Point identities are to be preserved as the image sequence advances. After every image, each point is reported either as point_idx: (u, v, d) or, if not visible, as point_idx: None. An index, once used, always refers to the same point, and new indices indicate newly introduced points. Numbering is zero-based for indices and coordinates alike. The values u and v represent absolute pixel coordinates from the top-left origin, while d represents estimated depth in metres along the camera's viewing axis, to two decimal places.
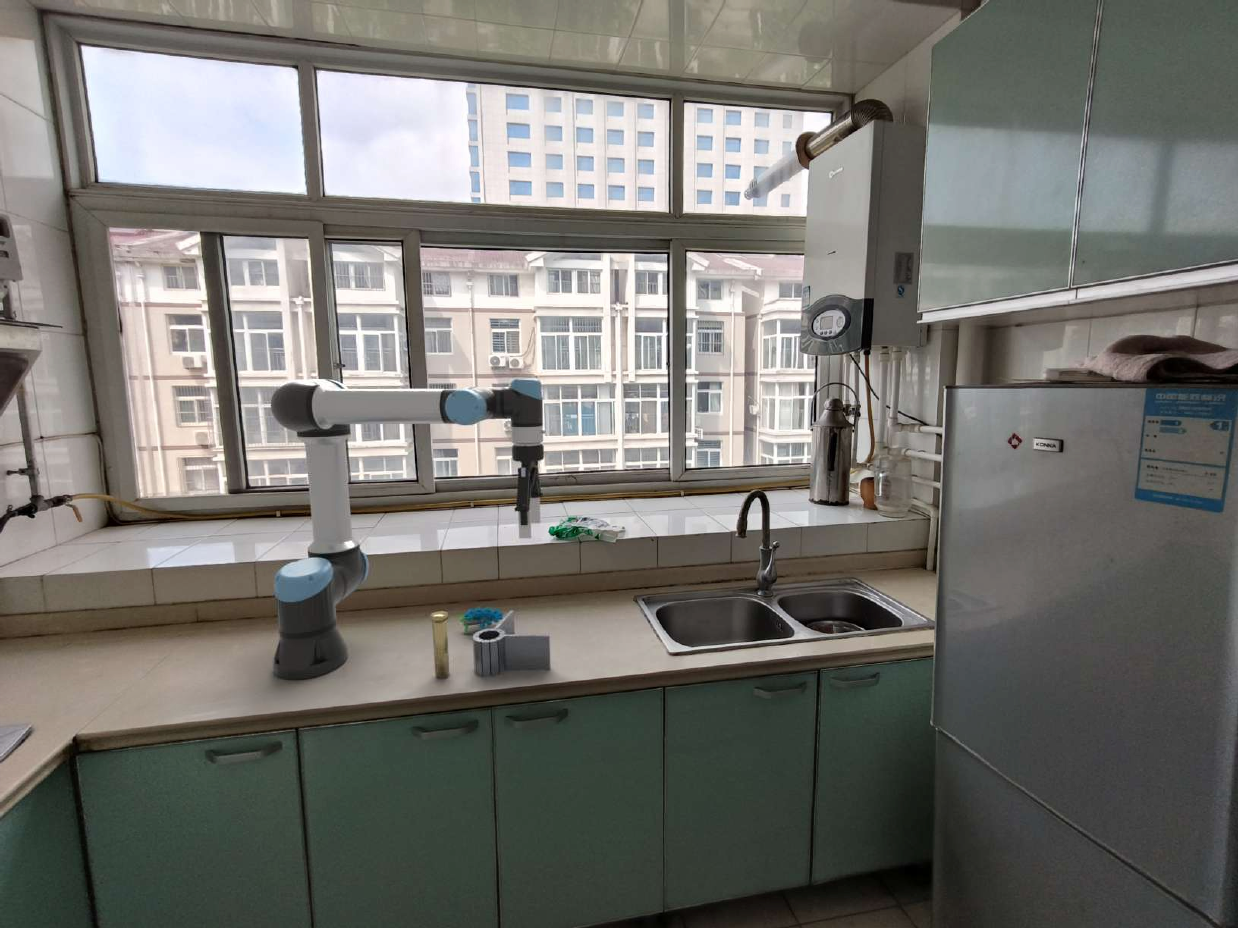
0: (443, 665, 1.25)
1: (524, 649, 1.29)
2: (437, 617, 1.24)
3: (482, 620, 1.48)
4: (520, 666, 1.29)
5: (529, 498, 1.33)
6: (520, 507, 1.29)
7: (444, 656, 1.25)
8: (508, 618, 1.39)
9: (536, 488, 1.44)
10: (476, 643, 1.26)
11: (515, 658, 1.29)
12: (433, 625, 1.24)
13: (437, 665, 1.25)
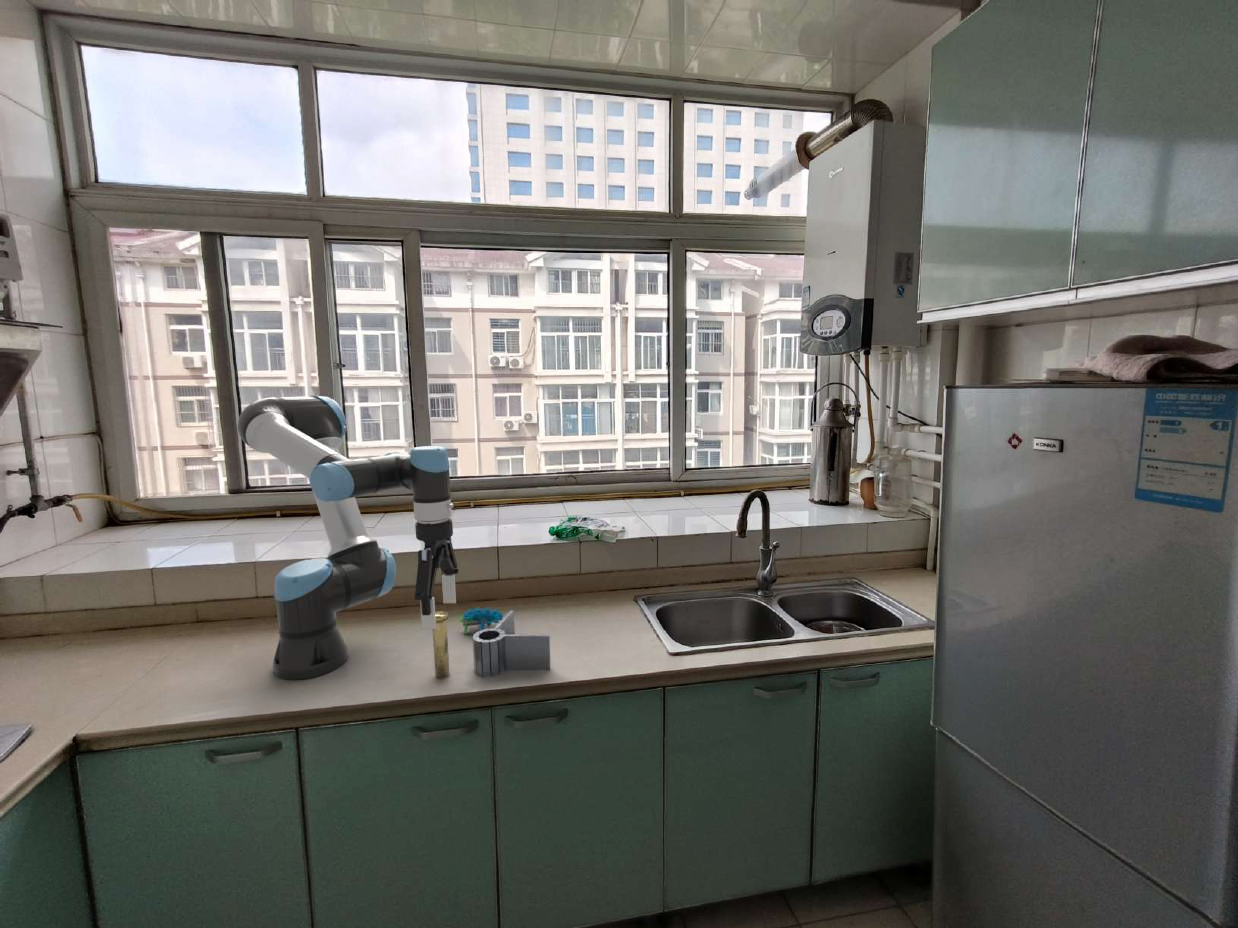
0: (443, 665, 1.25)
1: (524, 649, 1.29)
2: (437, 617, 1.24)
3: (482, 620, 1.48)
4: (520, 666, 1.29)
5: (432, 584, 1.17)
6: (419, 596, 1.14)
7: (444, 656, 1.25)
8: (508, 618, 1.39)
9: (449, 565, 1.28)
10: (476, 643, 1.26)
11: (515, 658, 1.29)
12: None
13: (437, 665, 1.25)
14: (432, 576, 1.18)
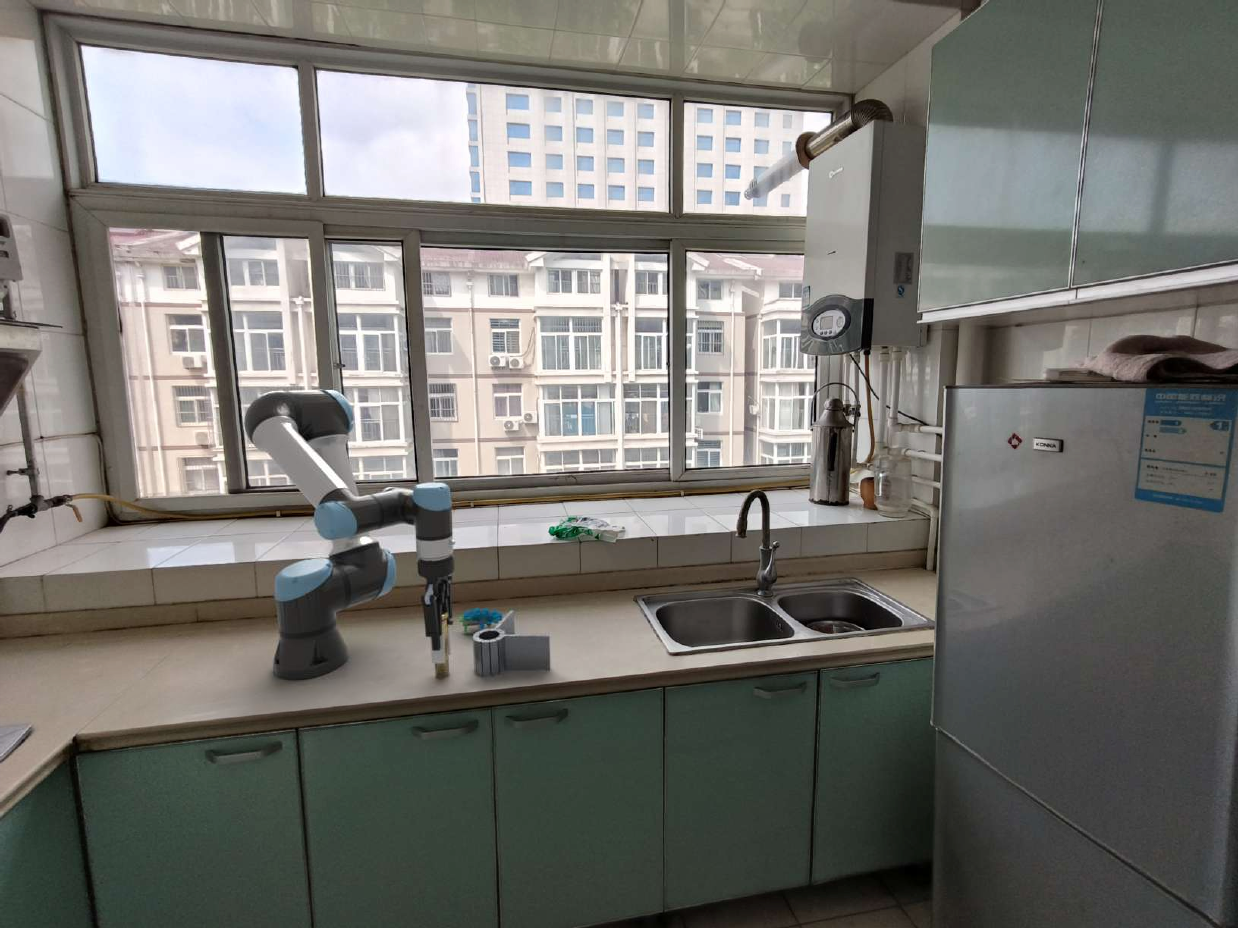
0: (443, 665, 1.25)
1: (524, 649, 1.29)
2: None
3: (481, 621, 1.47)
4: (520, 666, 1.29)
5: (440, 622, 1.22)
6: (430, 635, 1.20)
7: None
8: (508, 618, 1.39)
9: (445, 610, 1.27)
10: (476, 643, 1.26)
11: (515, 658, 1.29)
12: None
13: (437, 665, 1.25)
14: (438, 615, 1.22)
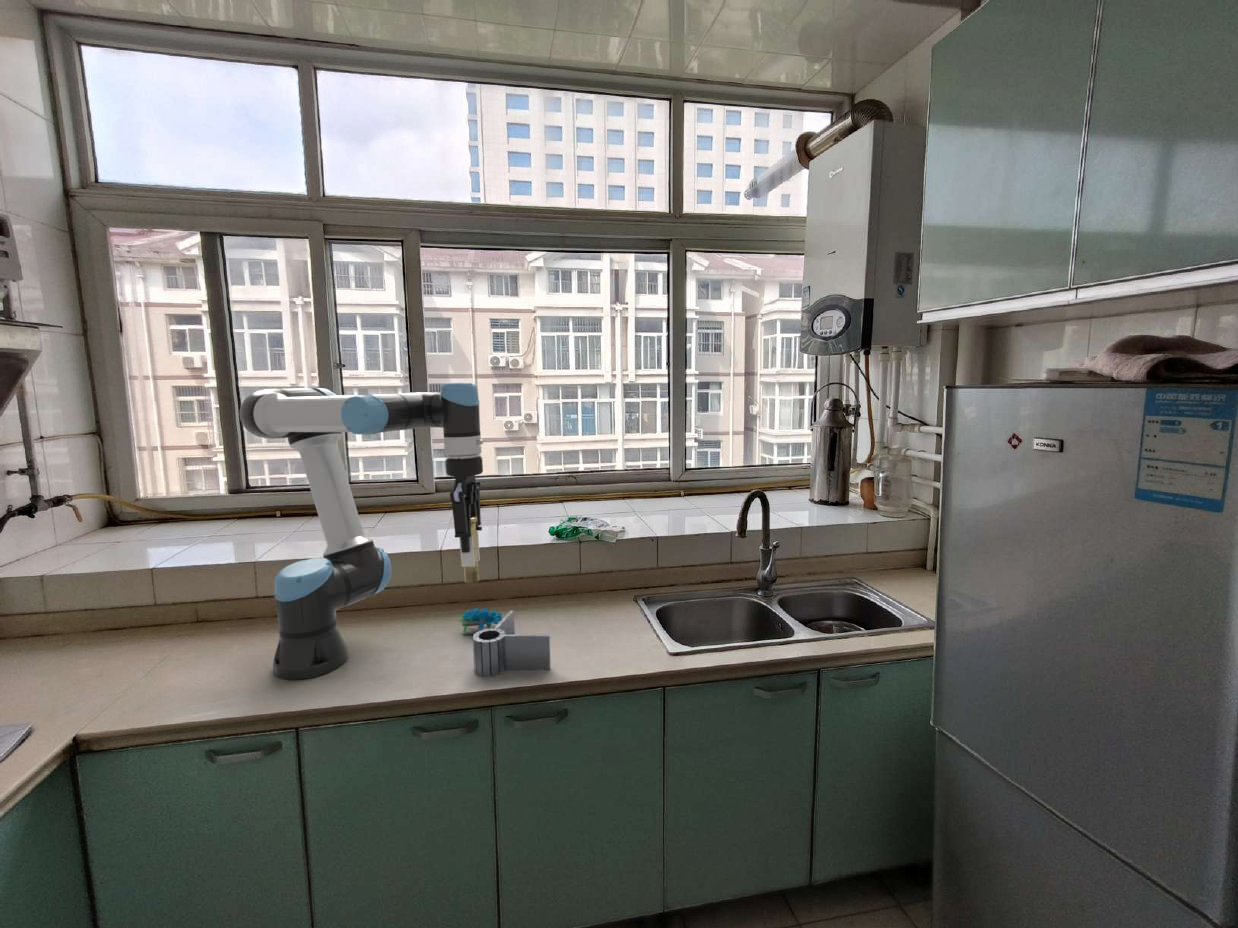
0: (472, 569, 1.23)
1: (524, 649, 1.29)
2: None
3: (480, 621, 1.47)
4: (520, 666, 1.29)
5: (469, 523, 1.20)
6: (459, 535, 1.18)
7: None
8: (508, 618, 1.39)
9: (474, 514, 1.25)
10: (476, 643, 1.26)
11: (515, 658, 1.29)
12: None
13: (467, 569, 1.23)
14: (468, 515, 1.20)
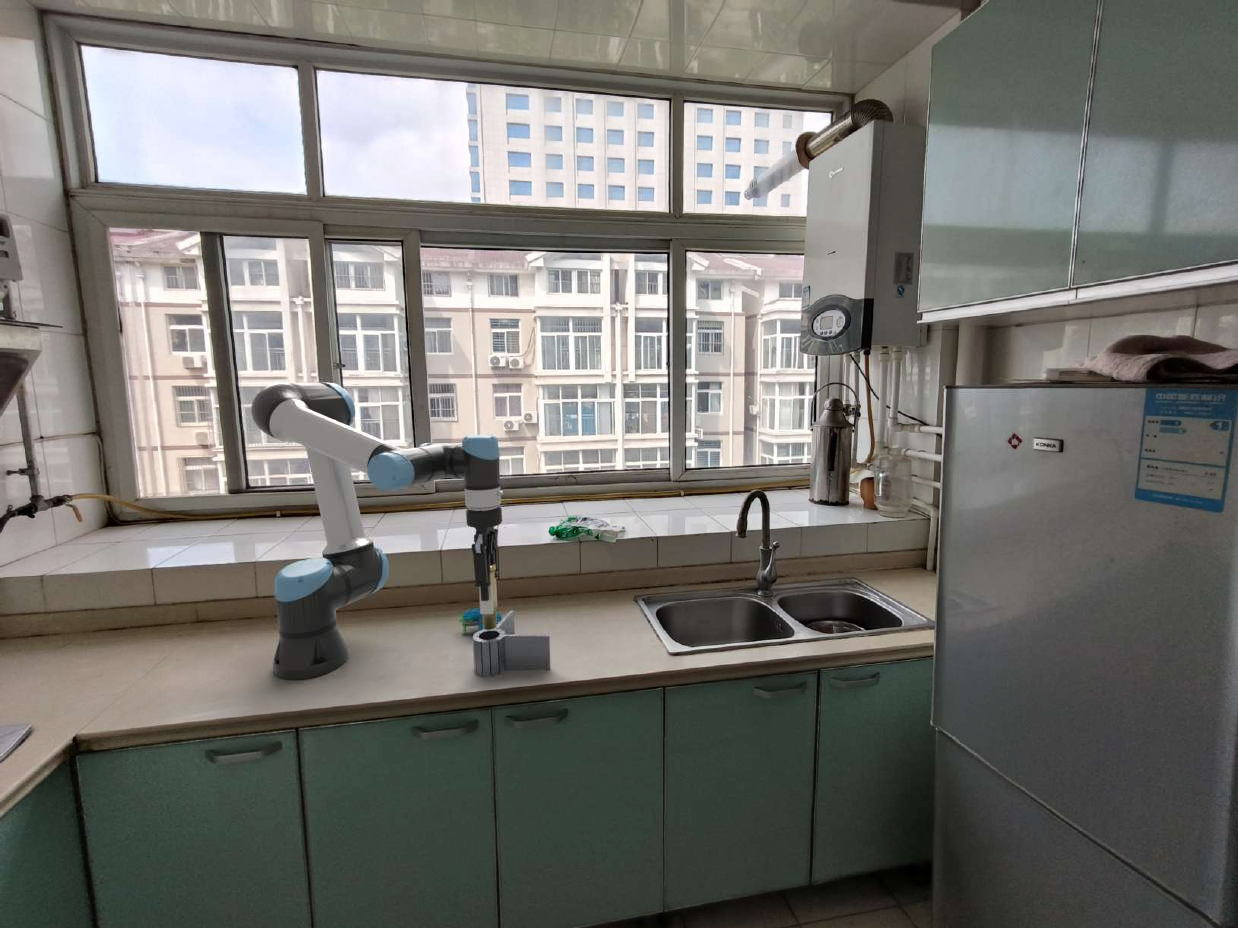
0: (491, 616, 1.26)
1: (524, 649, 1.29)
2: None
3: (480, 621, 1.47)
4: (520, 666, 1.29)
5: (489, 572, 1.23)
6: (480, 585, 1.21)
7: (493, 607, 1.26)
8: (508, 618, 1.39)
9: (492, 562, 1.28)
10: (476, 643, 1.26)
11: (515, 658, 1.29)
12: None
13: (486, 616, 1.26)
14: (487, 565, 1.23)
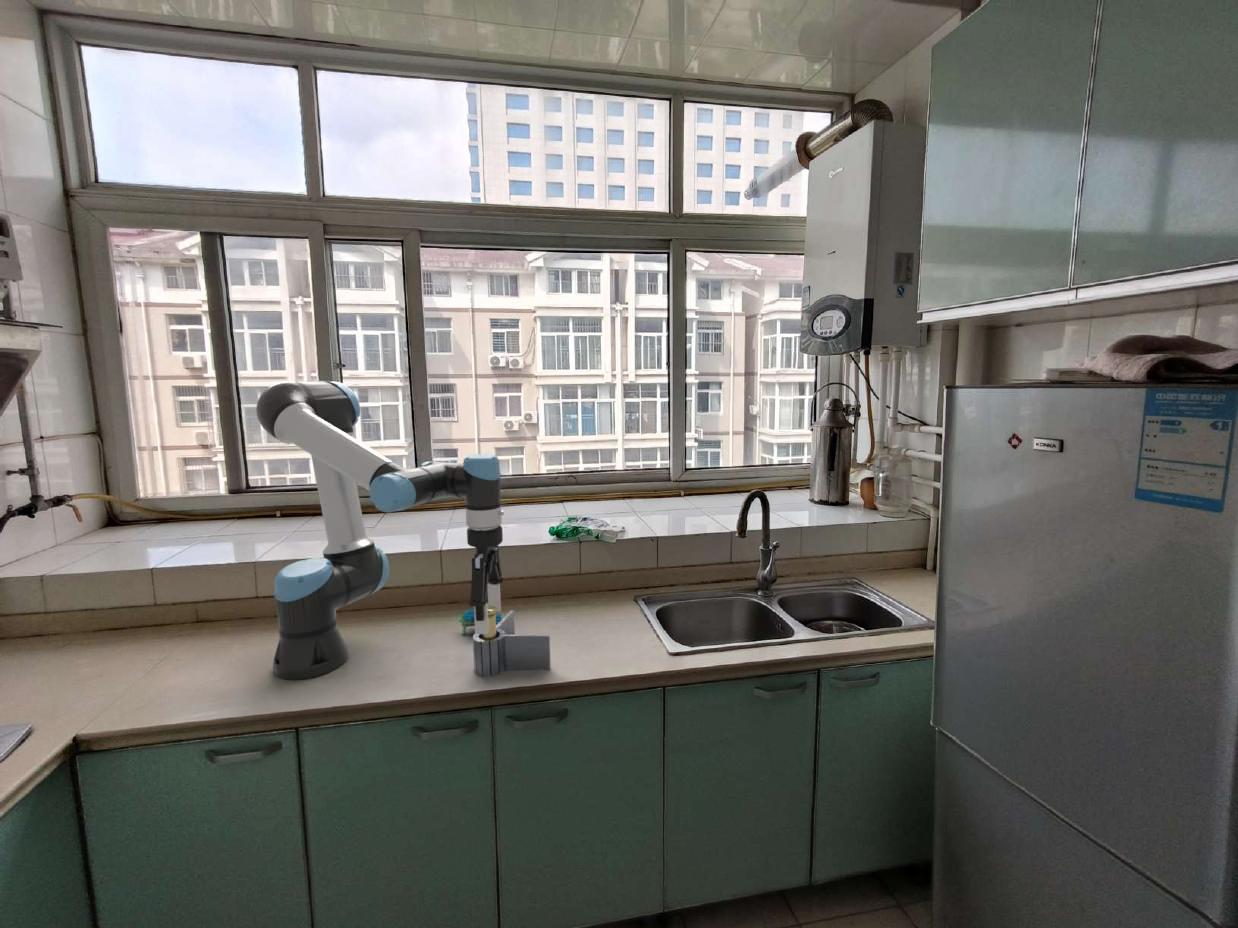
0: None
1: (524, 649, 1.29)
2: None
3: None
4: (520, 666, 1.29)
5: (485, 590, 1.21)
6: (475, 603, 1.18)
7: None
8: (508, 618, 1.39)
9: (495, 573, 1.31)
10: (476, 643, 1.26)
11: (515, 658, 1.29)
12: None
13: None
14: (485, 583, 1.21)
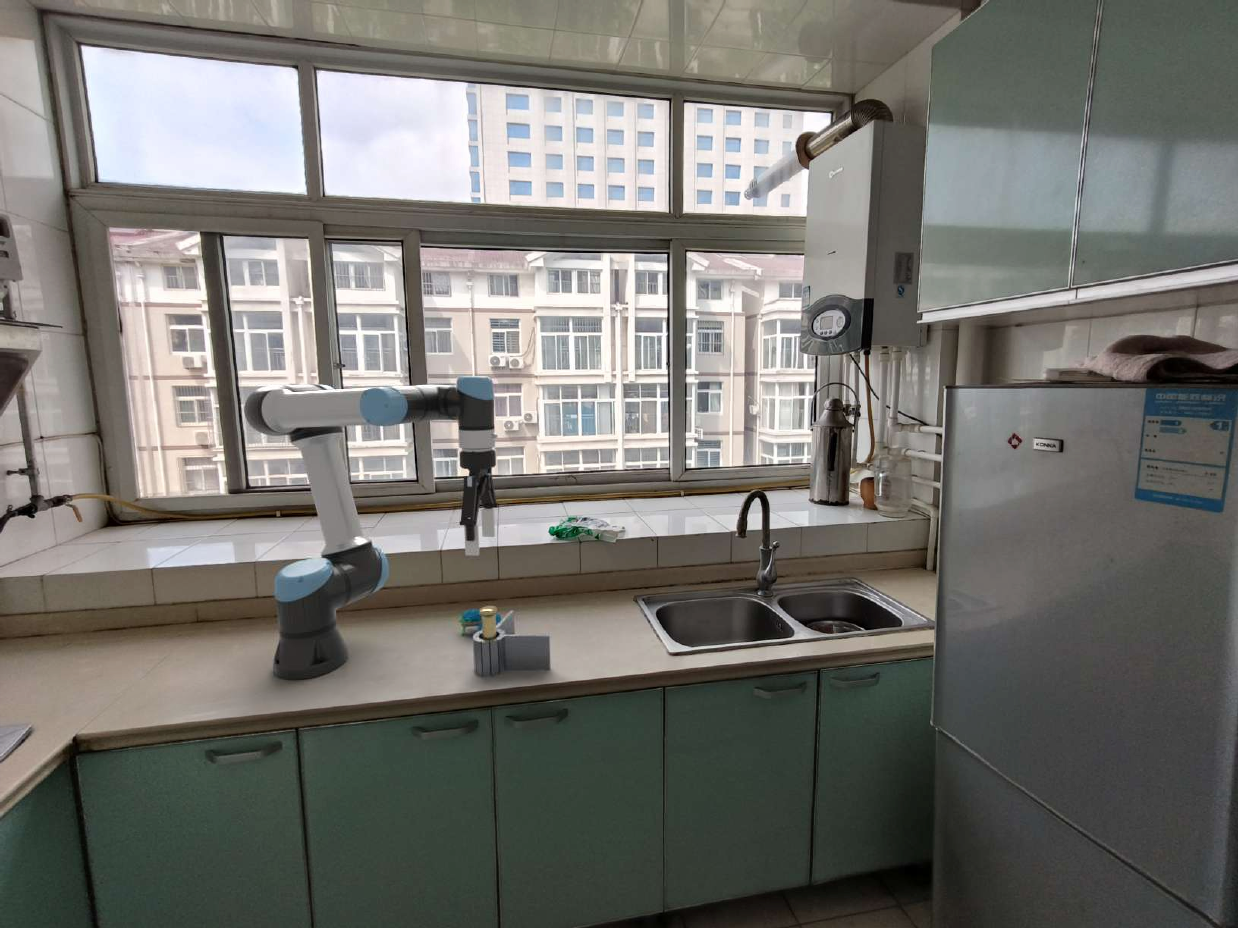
0: None
1: (524, 649, 1.29)
2: (487, 611, 1.26)
3: (479, 622, 1.47)
4: (520, 666, 1.29)
5: (476, 510, 1.18)
6: (465, 521, 1.15)
7: None
8: (508, 618, 1.39)
9: (489, 498, 1.30)
10: (476, 643, 1.26)
11: (515, 658, 1.29)
12: (483, 619, 1.27)
13: None
14: (476, 503, 1.19)
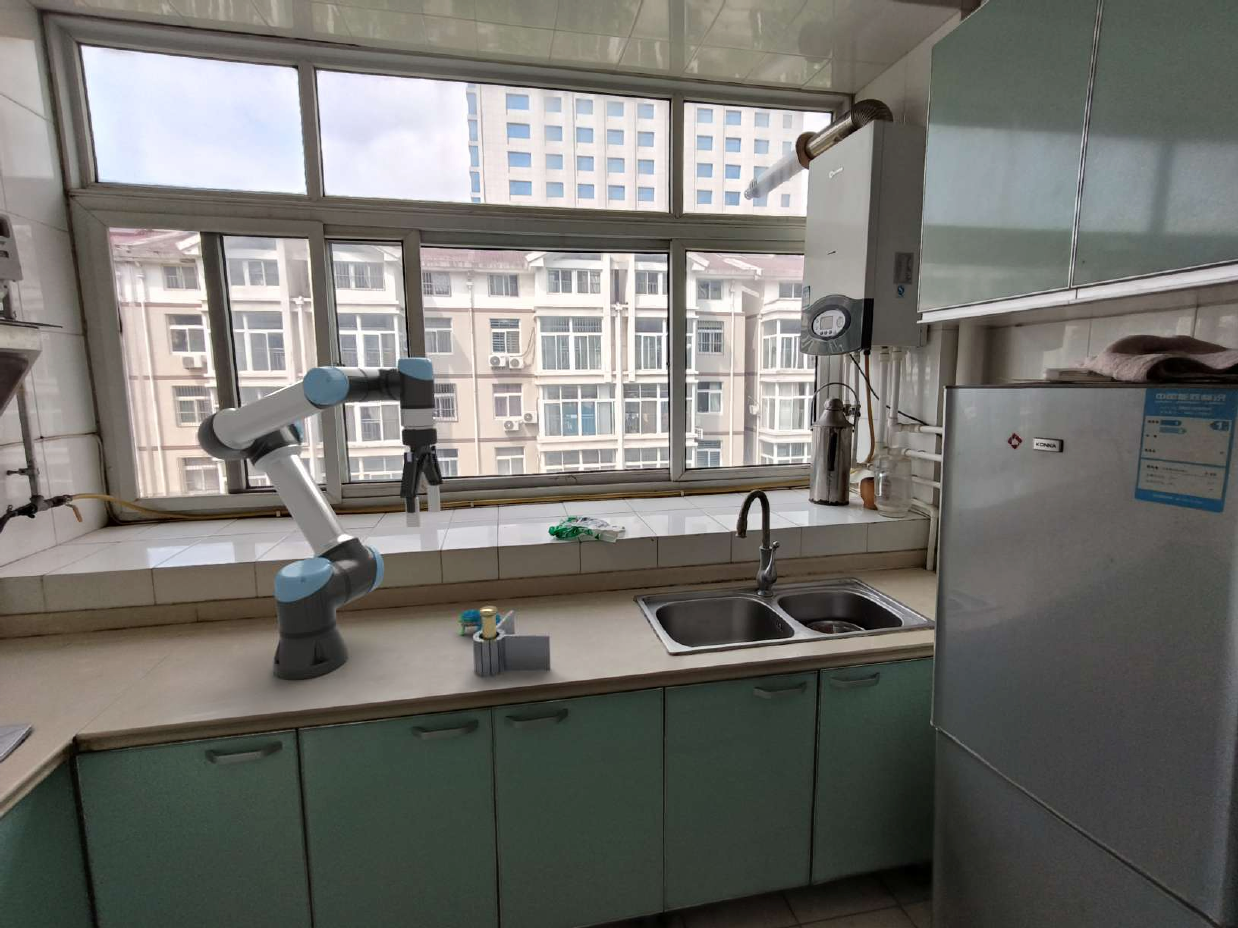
0: None
1: (524, 649, 1.29)
2: (487, 611, 1.26)
3: (478, 622, 1.46)
4: (520, 666, 1.29)
5: (416, 484, 1.25)
6: (404, 493, 1.22)
7: None
8: (508, 618, 1.39)
9: (433, 475, 1.37)
10: (476, 643, 1.26)
11: (515, 658, 1.29)
12: (483, 619, 1.27)
13: None
14: (417, 477, 1.26)
